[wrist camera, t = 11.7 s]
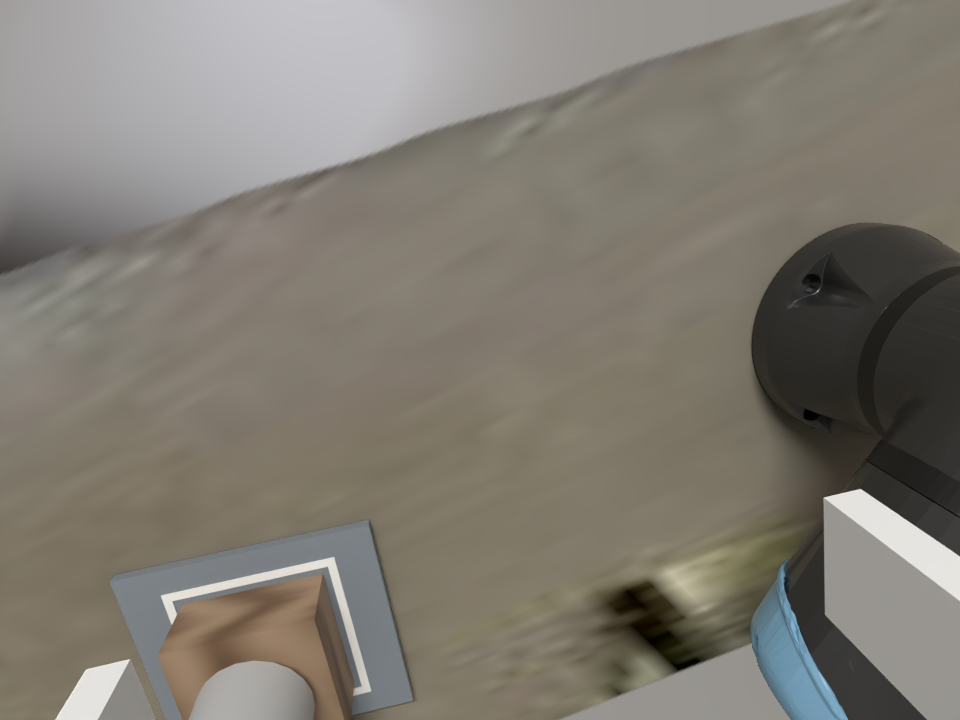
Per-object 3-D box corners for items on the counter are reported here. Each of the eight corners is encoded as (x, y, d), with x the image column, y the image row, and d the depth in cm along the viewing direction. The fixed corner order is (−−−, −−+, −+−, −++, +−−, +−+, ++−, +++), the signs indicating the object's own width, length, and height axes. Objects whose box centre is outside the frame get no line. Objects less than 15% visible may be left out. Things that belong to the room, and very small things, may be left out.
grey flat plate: (369, 519, 46) (368, 526, 45) (413, 692, 51) (413, 701, 50) (114, 575, 45) (109, 582, 44) (184, 747, 50) (180, 757, 49)
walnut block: (322, 573, 46) (314, 619, 41) (353, 682, 49) (349, 737, 44) (181, 604, 45) (156, 655, 40) (222, 713, 48) (203, 773, 43)
